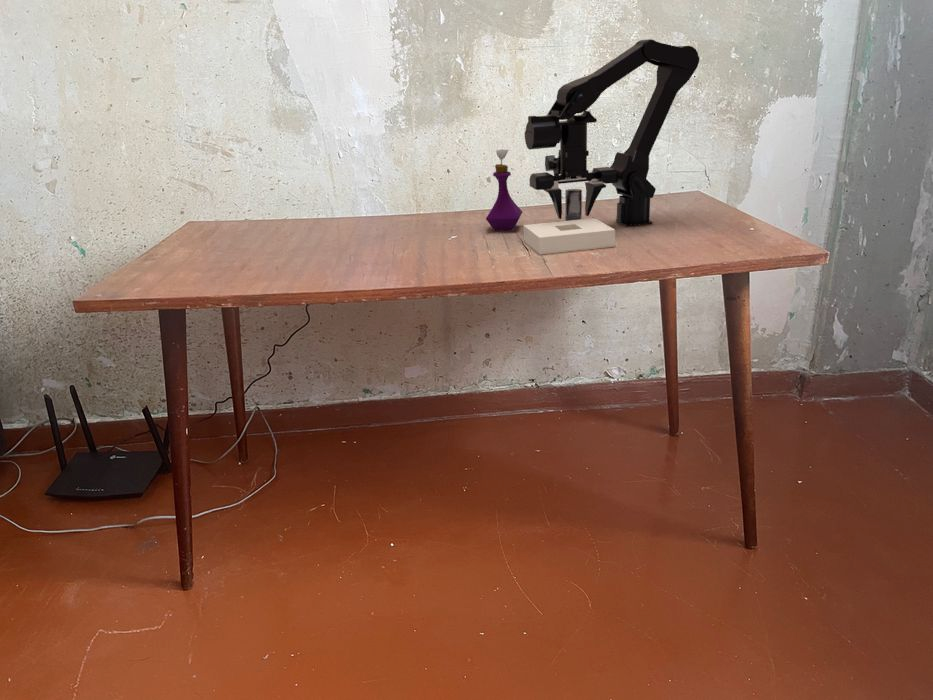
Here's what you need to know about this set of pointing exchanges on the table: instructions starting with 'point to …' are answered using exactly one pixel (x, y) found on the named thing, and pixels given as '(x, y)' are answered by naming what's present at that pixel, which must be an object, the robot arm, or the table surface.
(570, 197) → the pin
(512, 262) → the table surface
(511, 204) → the perfume bottle
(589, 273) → the table surface
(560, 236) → the socket board
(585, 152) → the robot arm
